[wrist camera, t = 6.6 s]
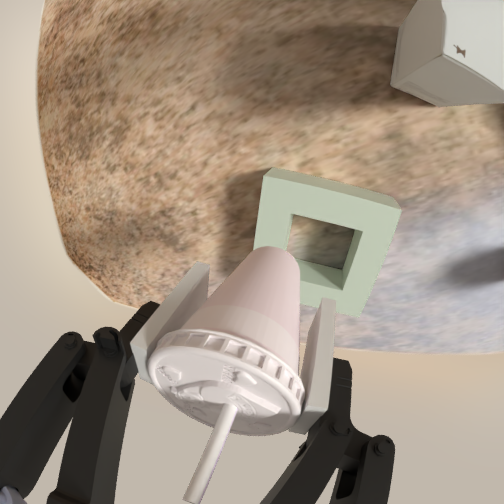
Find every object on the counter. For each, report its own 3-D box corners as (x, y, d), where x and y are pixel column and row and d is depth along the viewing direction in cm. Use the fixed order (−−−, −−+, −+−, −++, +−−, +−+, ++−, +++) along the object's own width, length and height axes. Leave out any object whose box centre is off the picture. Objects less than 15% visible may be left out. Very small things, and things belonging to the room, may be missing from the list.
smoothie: (324, 310, 18) (284, 527, 6) (235, 310, 20) (146, 487, 8) (316, 221, 15) (250, 511, 3) (213, 230, 17) (52, 419, 5)
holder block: (272, 167, 29) (263, 175, 26) (392, 196, 27) (401, 210, 23) (257, 270, 37) (247, 290, 33) (357, 295, 34) (358, 317, 30)
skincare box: (438, 108, 21) (522, 113, 7) (384, 85, 22) (437, 57, 8) (448, 46, 16) (523, 13, 3) (395, 22, 17) (440, -41, 4)
